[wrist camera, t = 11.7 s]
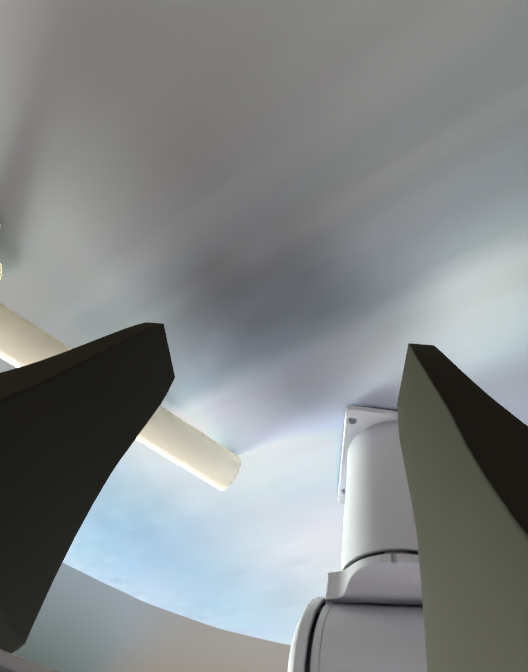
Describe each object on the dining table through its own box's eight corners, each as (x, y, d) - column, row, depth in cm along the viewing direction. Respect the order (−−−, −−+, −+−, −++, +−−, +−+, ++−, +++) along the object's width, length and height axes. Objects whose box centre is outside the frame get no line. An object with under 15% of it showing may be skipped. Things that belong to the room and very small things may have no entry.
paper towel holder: (-372, 123, 14) (255, 505, 21) (-127, 120, 21) (274, 405, 28) (-314, 282, 18) (181, 547, 26) (-131, 234, 25) (213, 452, 33)
